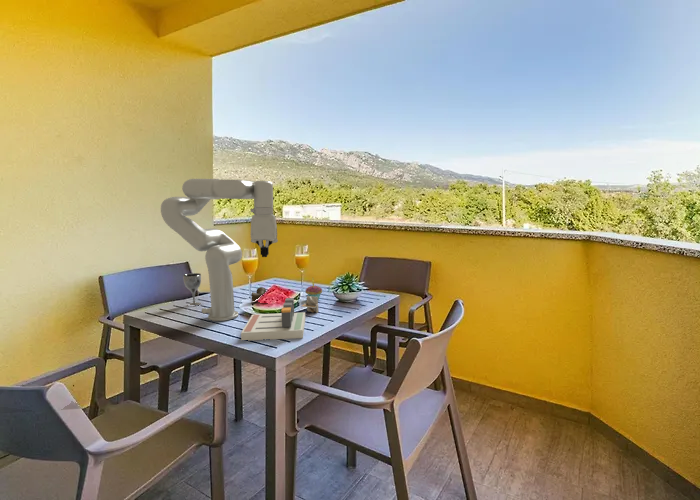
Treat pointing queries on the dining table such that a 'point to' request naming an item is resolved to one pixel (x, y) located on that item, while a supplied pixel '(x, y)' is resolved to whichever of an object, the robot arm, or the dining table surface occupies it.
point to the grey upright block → (286, 317)
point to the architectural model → (311, 304)
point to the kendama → (258, 293)
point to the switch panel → (274, 325)
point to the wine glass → (192, 284)
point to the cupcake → (314, 290)
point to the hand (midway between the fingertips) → (264, 256)
